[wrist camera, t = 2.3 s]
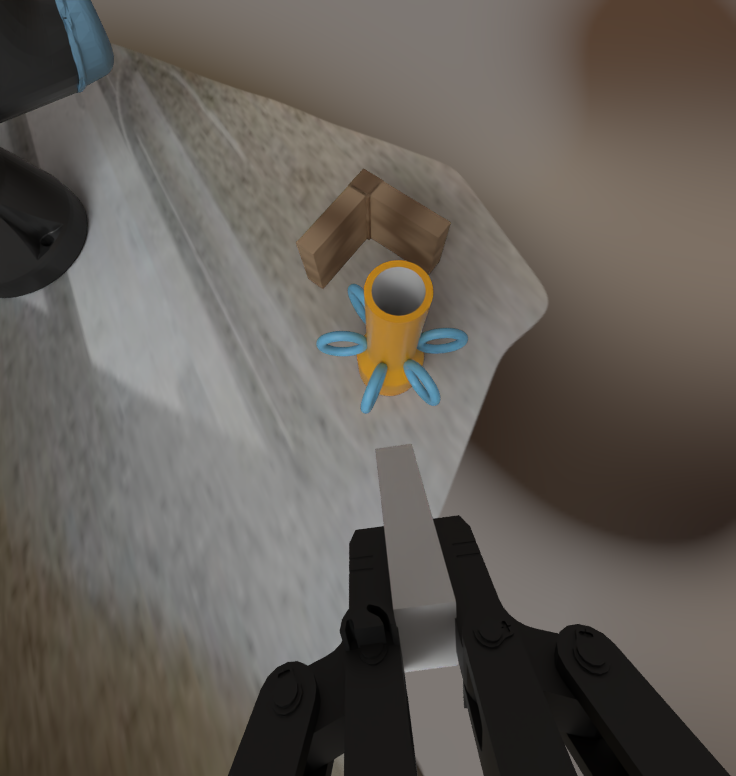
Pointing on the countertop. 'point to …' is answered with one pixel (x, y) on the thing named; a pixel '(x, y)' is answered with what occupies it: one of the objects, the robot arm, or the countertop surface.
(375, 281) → the yellow and blue tube
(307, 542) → the countertop surface
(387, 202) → the v block
